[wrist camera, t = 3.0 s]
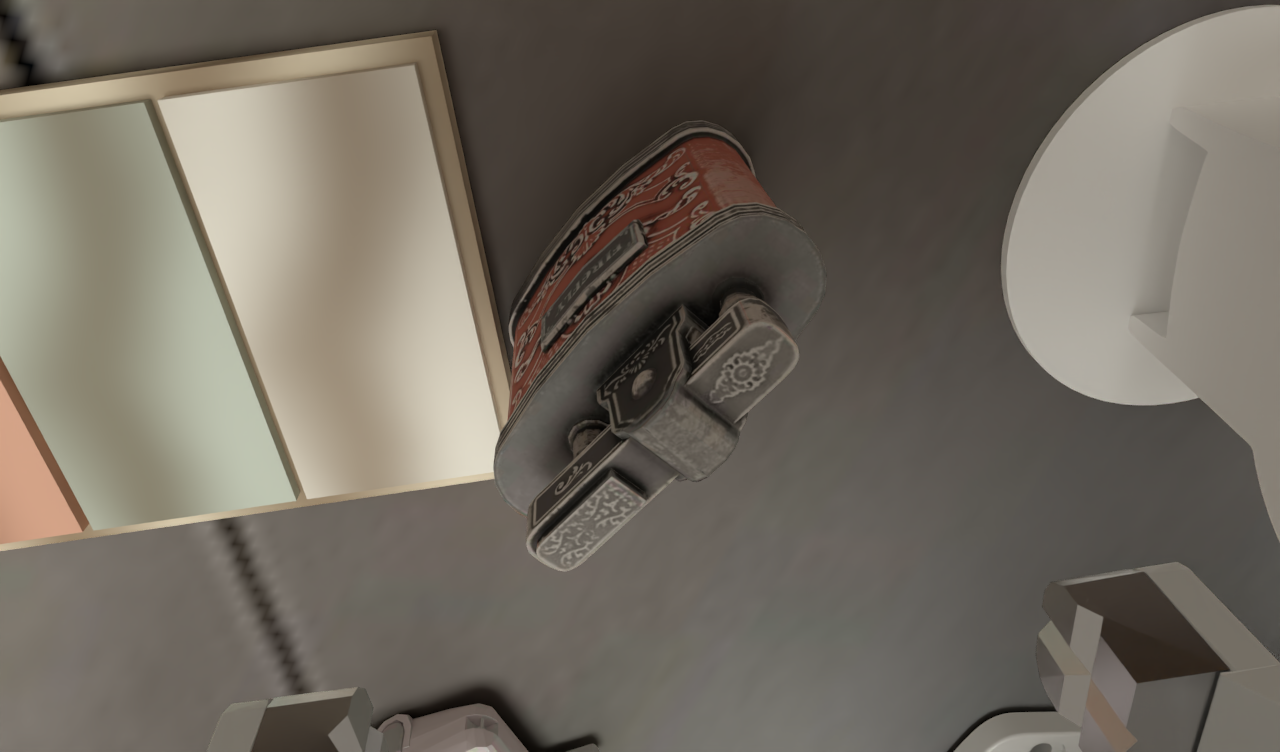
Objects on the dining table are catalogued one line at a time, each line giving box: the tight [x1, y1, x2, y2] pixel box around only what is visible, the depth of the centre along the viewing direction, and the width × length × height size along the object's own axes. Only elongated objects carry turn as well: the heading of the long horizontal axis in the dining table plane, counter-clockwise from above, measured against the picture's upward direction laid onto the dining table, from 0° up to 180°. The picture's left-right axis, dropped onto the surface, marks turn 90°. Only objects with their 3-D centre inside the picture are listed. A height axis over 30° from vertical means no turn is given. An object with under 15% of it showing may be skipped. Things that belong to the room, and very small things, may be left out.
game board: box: [0, 30, 511, 551], centre depth 23 cm, size 25×12×1 cm, turn 97°
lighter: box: [493, 120, 827, 571], centre depth 19 cm, size 8×3×10 cm, turn 137°
